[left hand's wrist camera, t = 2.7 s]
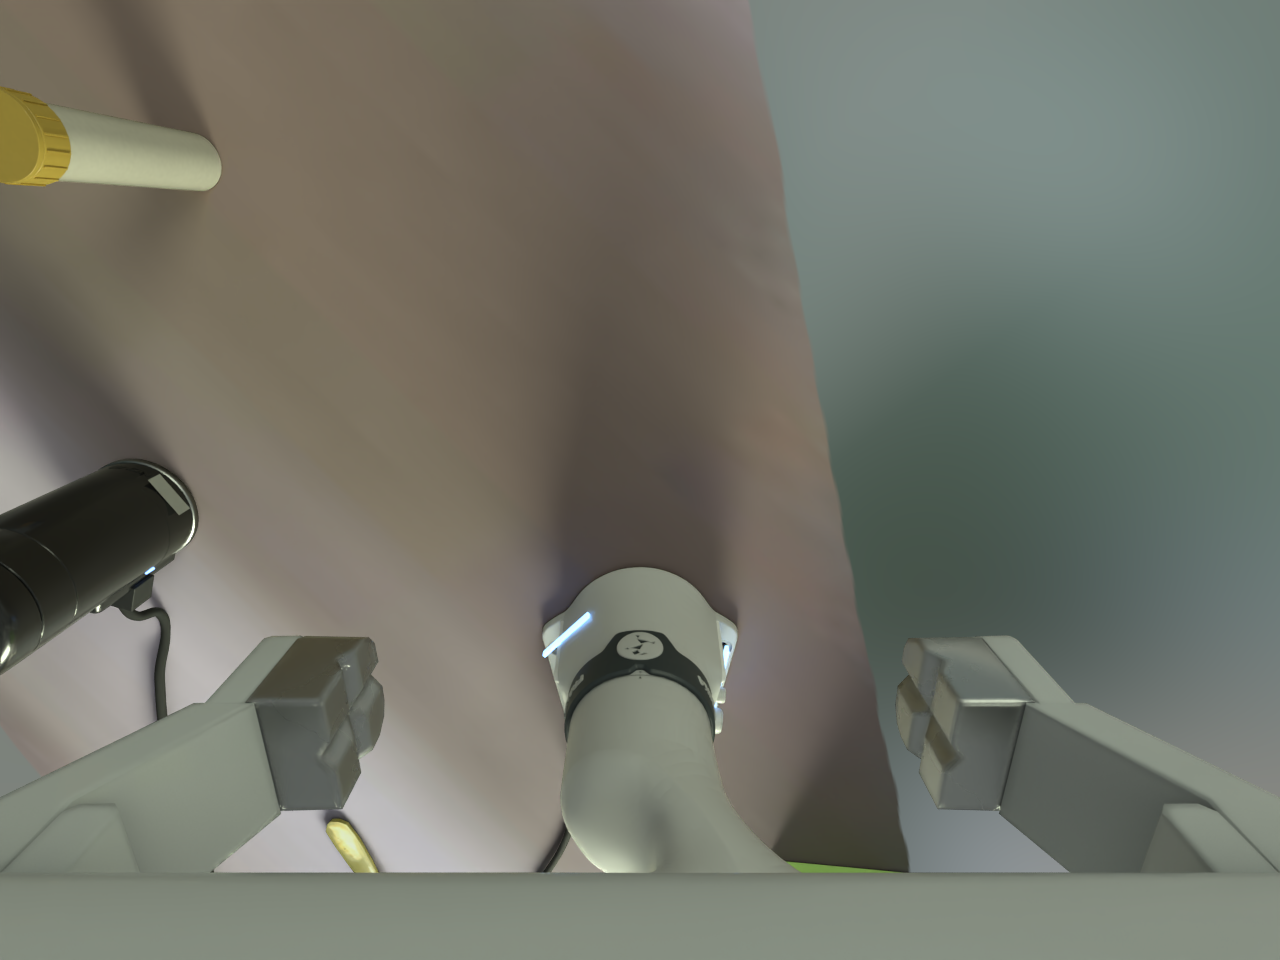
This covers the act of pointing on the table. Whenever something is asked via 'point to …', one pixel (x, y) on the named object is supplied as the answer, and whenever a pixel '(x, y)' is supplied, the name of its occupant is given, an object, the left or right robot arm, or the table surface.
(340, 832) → the spoon
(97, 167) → the pale cream cylinder
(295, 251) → the table surface
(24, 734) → the table surface
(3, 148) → the lid
